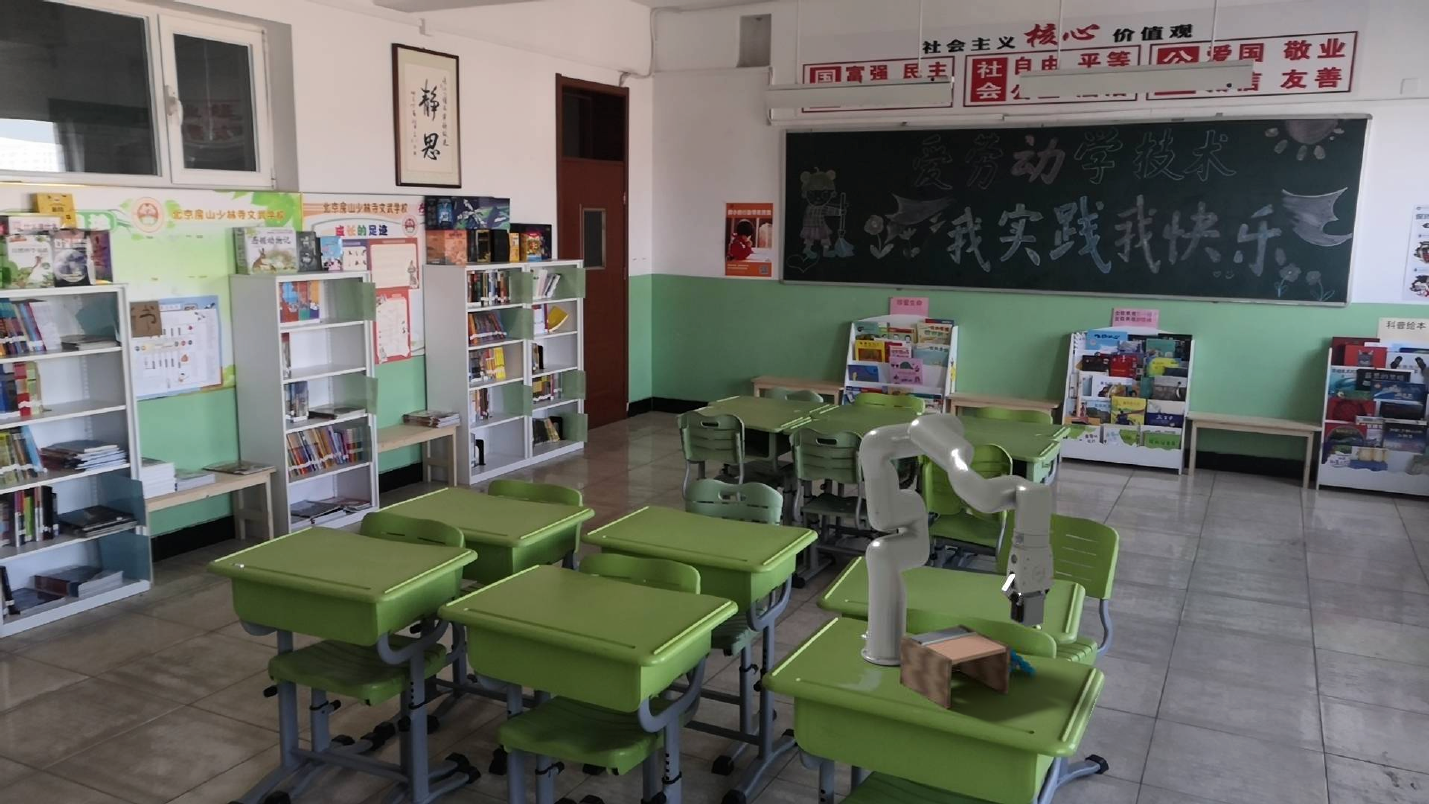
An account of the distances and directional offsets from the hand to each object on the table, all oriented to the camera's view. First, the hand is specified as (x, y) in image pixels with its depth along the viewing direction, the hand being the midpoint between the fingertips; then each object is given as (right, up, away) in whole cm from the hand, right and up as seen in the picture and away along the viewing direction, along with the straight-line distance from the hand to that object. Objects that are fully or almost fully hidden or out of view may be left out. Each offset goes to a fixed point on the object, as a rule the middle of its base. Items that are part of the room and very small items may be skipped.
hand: (1026, 617), depth 234 cm
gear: (+5, -19, +26) cm, 33 cm away
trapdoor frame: (-12, -20, +17) cm, 29 cm away
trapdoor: (-12, -12, +16) cm, 23 cm away
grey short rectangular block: (0, +2, 0) cm, 2 cm away
